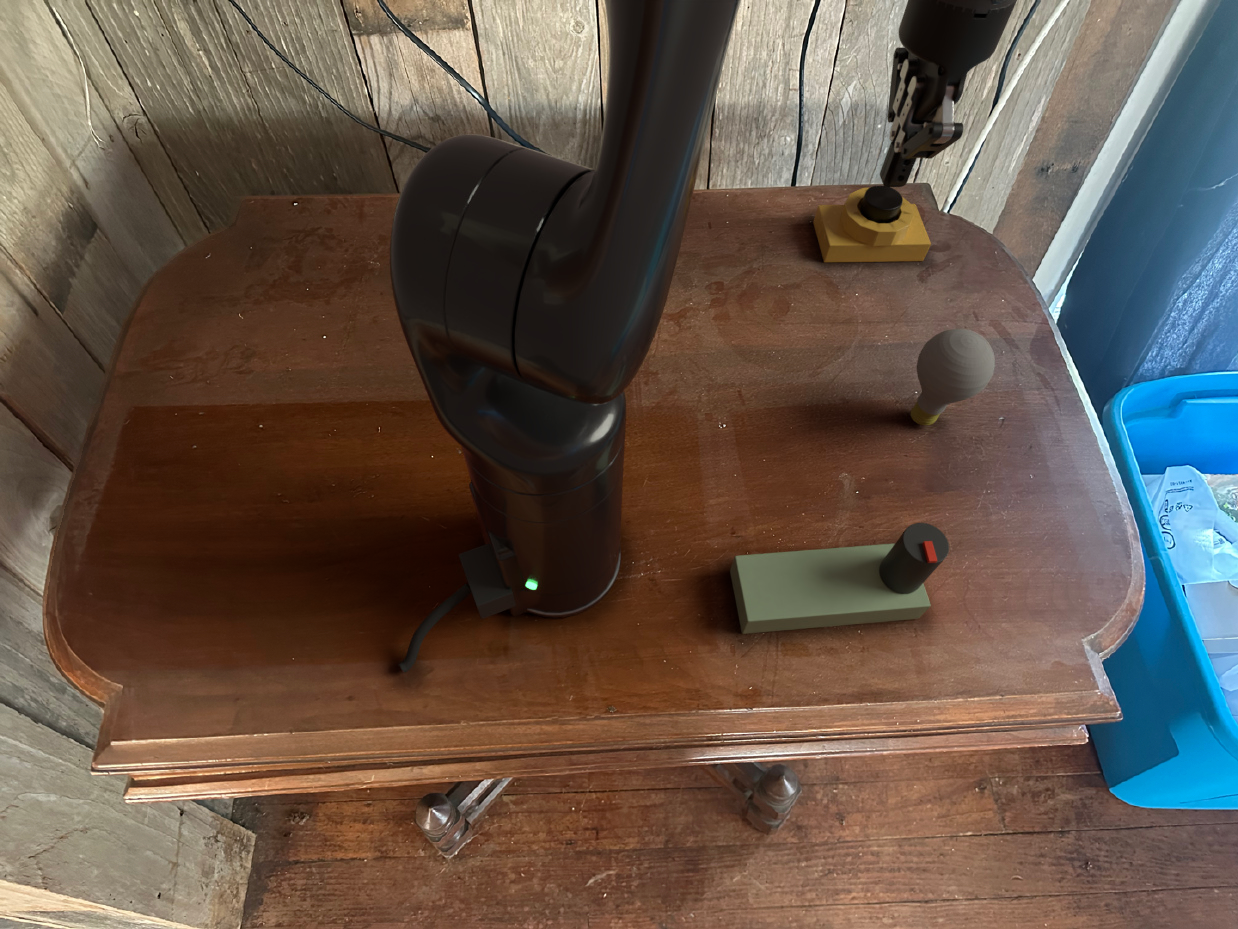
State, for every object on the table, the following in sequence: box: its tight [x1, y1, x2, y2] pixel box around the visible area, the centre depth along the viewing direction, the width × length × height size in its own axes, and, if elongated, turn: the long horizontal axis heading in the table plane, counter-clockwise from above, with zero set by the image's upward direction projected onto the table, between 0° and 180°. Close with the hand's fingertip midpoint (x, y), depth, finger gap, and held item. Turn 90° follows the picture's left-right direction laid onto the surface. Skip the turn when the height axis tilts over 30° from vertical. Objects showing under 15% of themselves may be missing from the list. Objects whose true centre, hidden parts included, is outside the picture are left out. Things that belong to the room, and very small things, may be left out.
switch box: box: [812, 187, 932, 263], centre depth 74 cm, size 10×6×4 cm, turn 92°
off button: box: [860, 184, 903, 223], centre depth 72 cm, size 4×4×2 cm
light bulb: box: [910, 328, 996, 427], centre depth 60 cm, size 5×6×10 cm
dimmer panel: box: [729, 542, 932, 635], centre depth 54 cm, size 13×5×2 cm, turn 95°
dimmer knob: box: [879, 522, 950, 594], centre depth 51 cm, size 3×3×5 cm
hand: (891, 182), depth 70 cm, fingers closed
